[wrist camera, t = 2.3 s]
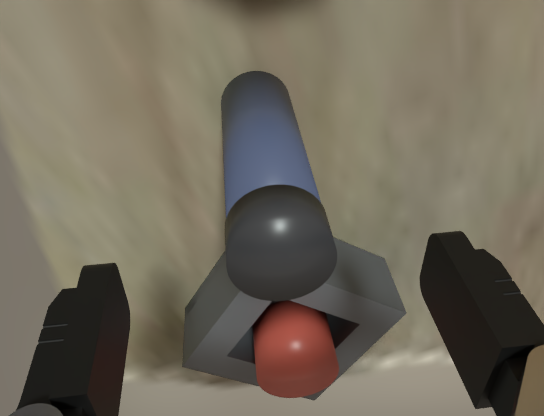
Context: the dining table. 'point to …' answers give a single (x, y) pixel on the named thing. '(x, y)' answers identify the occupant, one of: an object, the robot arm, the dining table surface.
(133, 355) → the dining table surface
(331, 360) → the button
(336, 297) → the button console
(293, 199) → the marker
